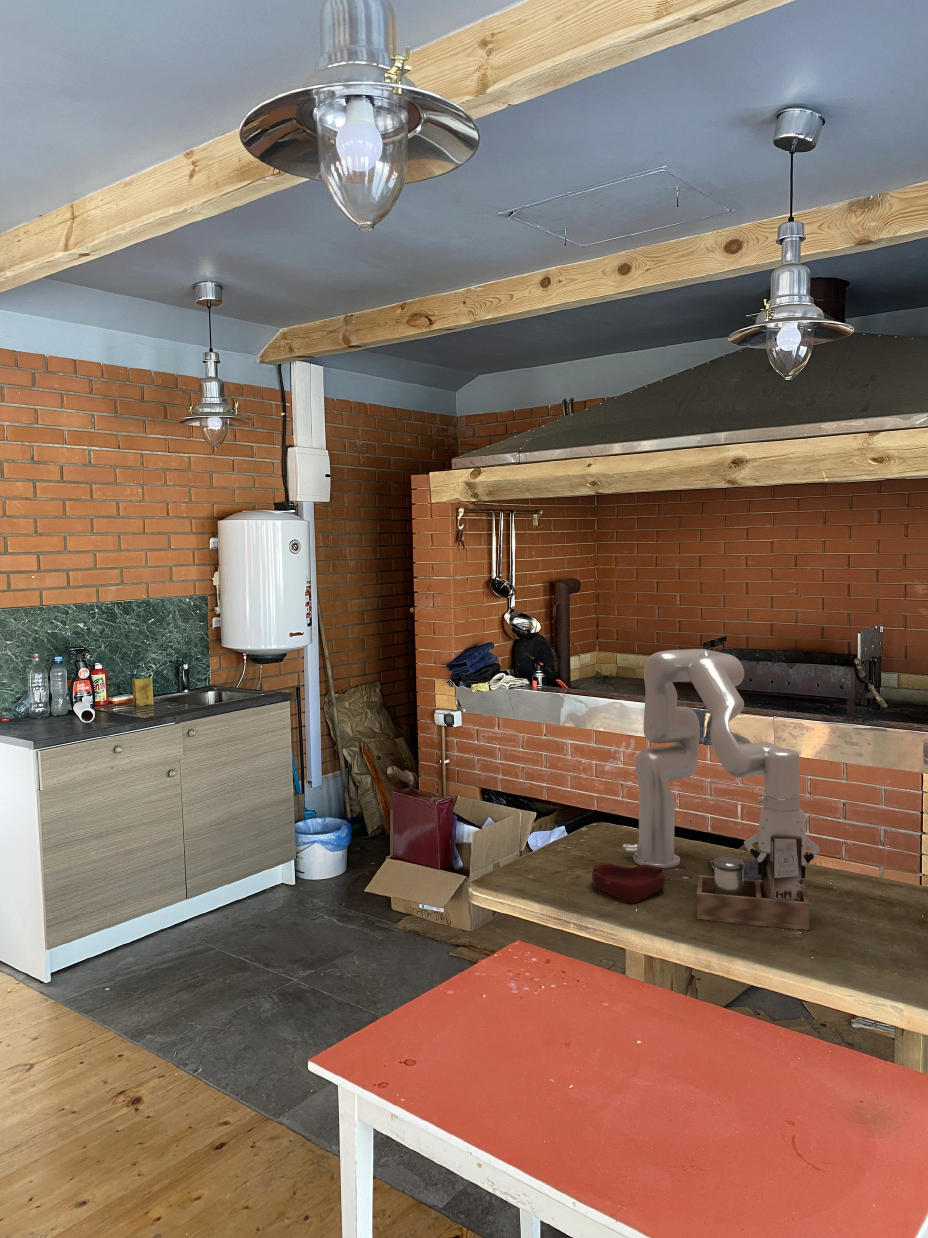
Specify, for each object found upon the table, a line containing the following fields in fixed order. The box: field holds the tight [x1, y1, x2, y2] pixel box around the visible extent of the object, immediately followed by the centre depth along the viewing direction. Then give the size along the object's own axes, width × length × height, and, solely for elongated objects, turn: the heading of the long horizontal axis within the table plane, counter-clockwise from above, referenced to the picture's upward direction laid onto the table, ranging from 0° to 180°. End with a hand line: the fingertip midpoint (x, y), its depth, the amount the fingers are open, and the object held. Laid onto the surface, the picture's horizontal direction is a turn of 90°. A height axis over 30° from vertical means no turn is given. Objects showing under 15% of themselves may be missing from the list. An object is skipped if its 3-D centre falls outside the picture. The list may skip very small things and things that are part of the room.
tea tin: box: [713, 856, 745, 896], centre depth 205 cm, size 7×7×11 cm
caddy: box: [696, 874, 810, 931], centre depth 204 cm, size 24×13×6 cm, turn 73°
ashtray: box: [591, 863, 666, 904], centre depth 218 cm, size 18×16×5 cm
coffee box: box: [761, 836, 802, 902], centre depth 202 cm, size 9×6×16 cm
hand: (781, 879), depth 202 cm, fingers closed on coffee box, 7 cm apart
